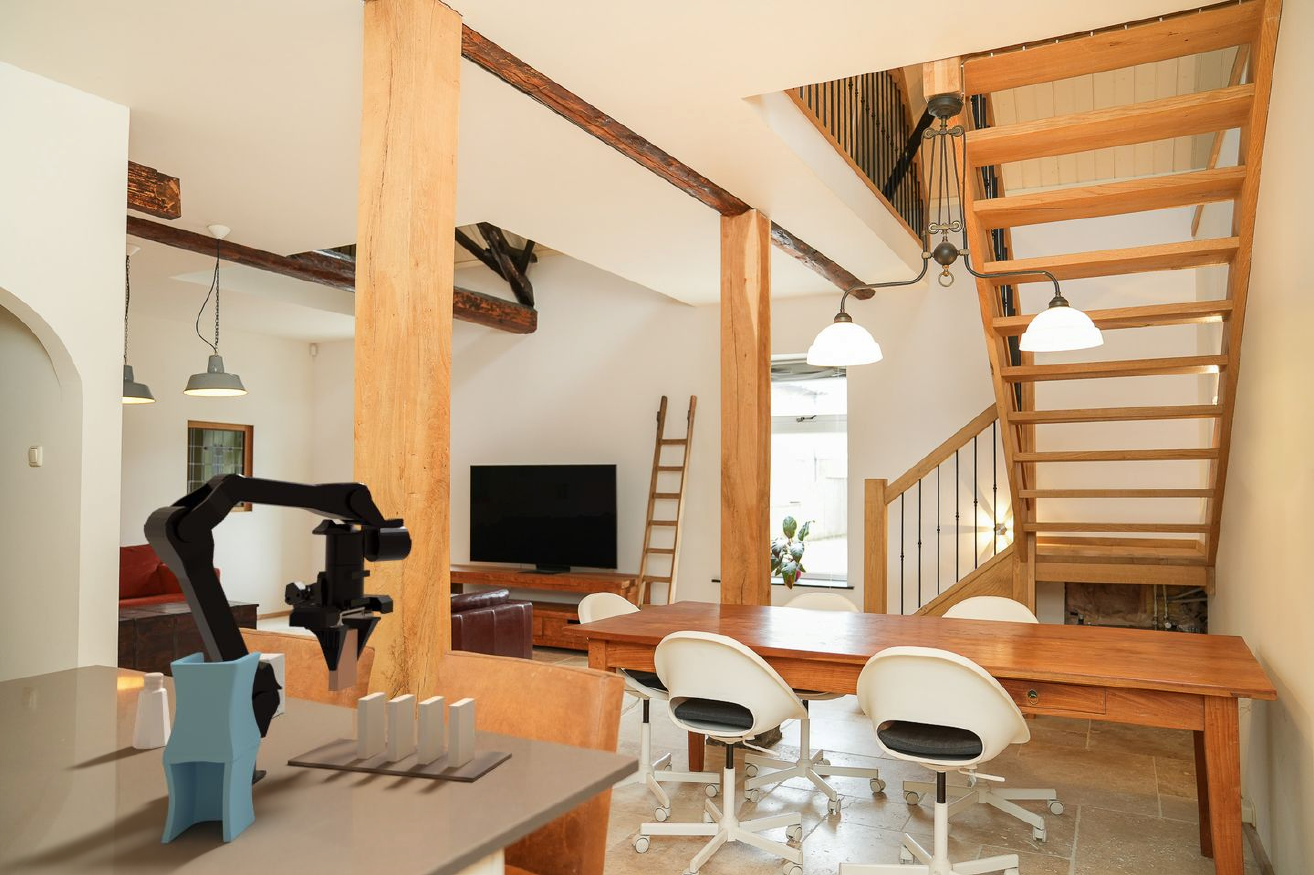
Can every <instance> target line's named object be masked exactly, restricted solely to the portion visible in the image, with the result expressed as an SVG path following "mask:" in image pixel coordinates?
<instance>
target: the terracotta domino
mask: <svg viewBox="0 0 1314 875" xmlns="http://www.w3.org/2000/svg"><path fill="white" fill-rule="evenodd" d="M357 635H358V629H348V630H347V634H346V638H345V642H344V645H343V649H342V653H341V657H340V661H339V664H338V667H337V670H336V671H329V670H328V691H329V692H340V691H343V690H346V689H348V688H351V687H355V686H356V685H357V681H358V680H357V679H358V678H357V677H358V676H357V675H358V662H357Z"/></svg>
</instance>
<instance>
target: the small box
mask: <svg viewBox="0 0 1314 875" xmlns="http://www.w3.org/2000/svg"><path fill="white" fill-rule="evenodd" d="M285 658H286V654H285V653H261V656H260V659H259V661H261V662H266V663H270V664H271V665H272V667H273V669H274V674H275V678H276V681H277V682H278V684H279V685H280V686H281V687H282V689H281V690H278V692H279V695H280V705H279V706H278V708H277V711H276V713H275V714H274V716H273V717H272V718H275V717H277V716H280V715H281V714H283V713H285V711H286V671H285V670H286V663H285V662H286V661H285V660H286V659H285Z"/></svg>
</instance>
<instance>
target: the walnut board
mask: <svg viewBox="0 0 1314 875" xmlns="http://www.w3.org/2000/svg"><path fill="white" fill-rule="evenodd" d="M417 746H418V744H415V753H413V754H411V755H409V756H407V757H405V758H403V759H401V760H399V761H397V762H392V761H387V741H385V750H384V751H382V752H380V753H378V754H376V755H374V756H372V757H370V758H368V759H359V758H357V739H350V738H349V739H348V738H341V737H340V738H337V739H334V740H332V741H330V742H327V743H325V744H322V745H321V746H318V747H316V748H314V749H311V750H309V751H307V752H306V751H305V753H302V754H300V755H298V756H295V757H293V758H289V759H287V765H295V766H304V767H305V766H306V767H316V768H323V769H324V768H326V769H334V770H335V769H336V770H337V769H338V770H344V771H345V770H348V771H356V772H357V771H358V772H366V773H367V772H368V773H379V774H388V775H389V774H390V775H398V776H410V777H411V776H412V777H419V778H420V777H421V778H429V779H431V778H432V779H441V780H442V779H443V780H452V781H462V782H475V781H477V780H478V779H479V778H481V777H482V776H484V775H485V774H487V773H488V772H491V770H493V769H495V768H496V767H498V766H499V765H500V764H502V763H504V762H505V761H507V760H508V759H510V758H512V756H513V754H512V752H507V751H506V752H505V751H494V750H483V749H482V750H481V749H475V758H473V759H472V760H470V761H469V762H467V763H465V764H464V765H462V766H460V767H449V746H447V747H445V746H444V756H442V757H440V758H438V759H436V760H435V761H433V762H431V763H429V764H428V765H426V764H417Z"/></svg>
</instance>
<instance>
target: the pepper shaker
mask: <svg viewBox="0 0 1314 875" xmlns="http://www.w3.org/2000/svg"><path fill="white" fill-rule="evenodd" d="M142 678H143V689H142V690H140V691H139V692H138V693H139V694H138V698H137V699H138V700H137V708H136V715H135V721H134V723H135V724H134V729H133V737H132V743H131V747H132V748H134V749H136V750H152V749H157V748H159V749H160V748H162V747H166V745H167V742H168V739H169V737H170V734H171V731H172V730H171V721H170V713H169V712H170V711H169V702H168V701H169V700H168V692H167V689H166V688H165V687H163V683H164V680H163V678H164V673H162V672H149V673H146V674H144V675H143V676H142Z"/></svg>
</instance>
